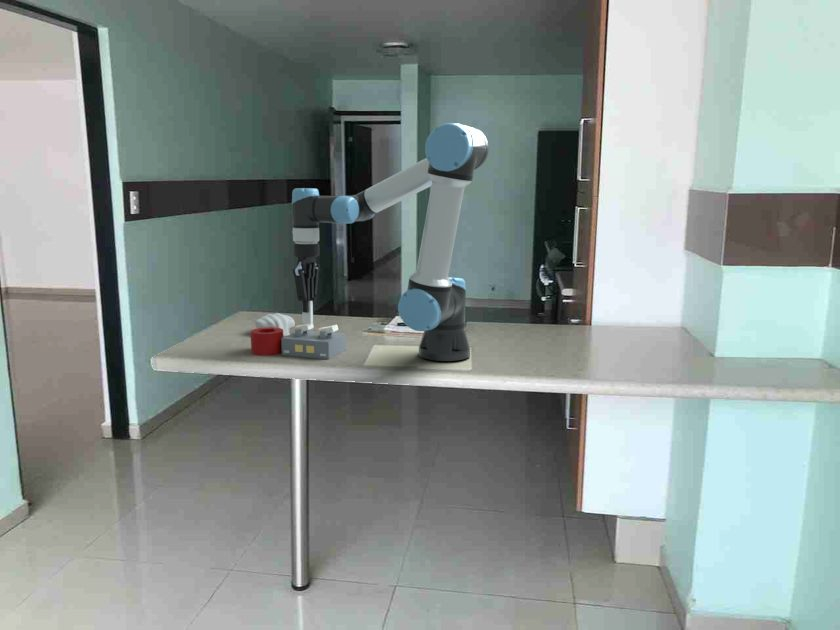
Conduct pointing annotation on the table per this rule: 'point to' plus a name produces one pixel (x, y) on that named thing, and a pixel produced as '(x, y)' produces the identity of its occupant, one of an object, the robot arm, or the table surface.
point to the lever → (266, 341)
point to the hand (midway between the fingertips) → (307, 322)
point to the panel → (313, 344)
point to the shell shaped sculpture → (276, 322)
